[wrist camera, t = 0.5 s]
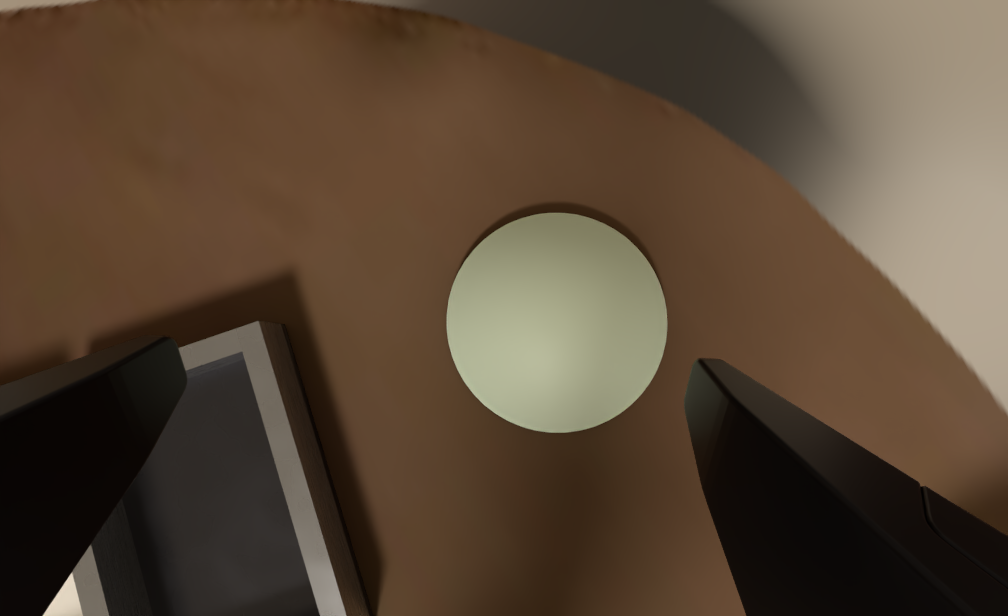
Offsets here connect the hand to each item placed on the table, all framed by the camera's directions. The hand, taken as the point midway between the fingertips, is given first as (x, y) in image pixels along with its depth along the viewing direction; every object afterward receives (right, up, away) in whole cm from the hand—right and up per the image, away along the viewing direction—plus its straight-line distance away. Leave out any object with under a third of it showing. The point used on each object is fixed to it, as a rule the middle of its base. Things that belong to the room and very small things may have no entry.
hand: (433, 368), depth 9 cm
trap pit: (-11, -8, +14) cm, 20 cm away
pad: (+4, 0, +15) cm, 15 cm away
